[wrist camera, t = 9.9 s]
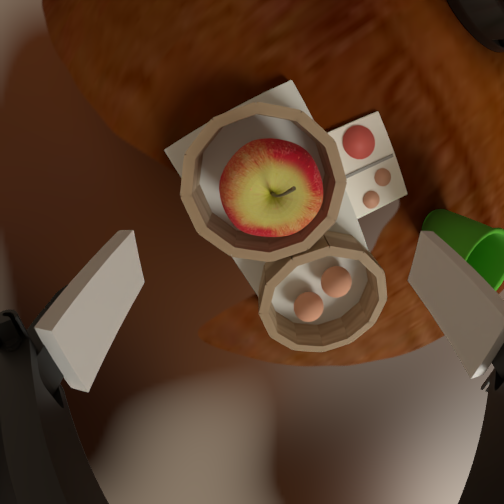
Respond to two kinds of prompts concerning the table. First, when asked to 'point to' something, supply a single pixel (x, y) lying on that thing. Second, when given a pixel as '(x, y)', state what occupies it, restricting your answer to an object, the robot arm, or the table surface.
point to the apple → (271, 188)
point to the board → (211, 171)
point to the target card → (368, 164)
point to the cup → (471, 242)
